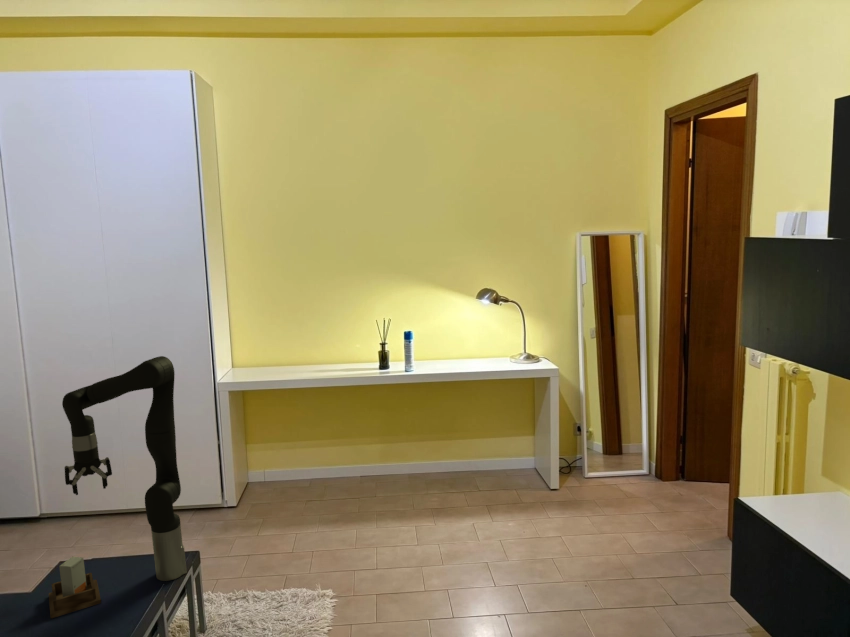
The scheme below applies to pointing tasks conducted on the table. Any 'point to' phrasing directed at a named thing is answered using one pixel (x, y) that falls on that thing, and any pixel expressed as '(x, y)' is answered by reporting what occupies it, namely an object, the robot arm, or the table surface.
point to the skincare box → (73, 576)
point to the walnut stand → (73, 598)
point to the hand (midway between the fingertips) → (90, 491)
